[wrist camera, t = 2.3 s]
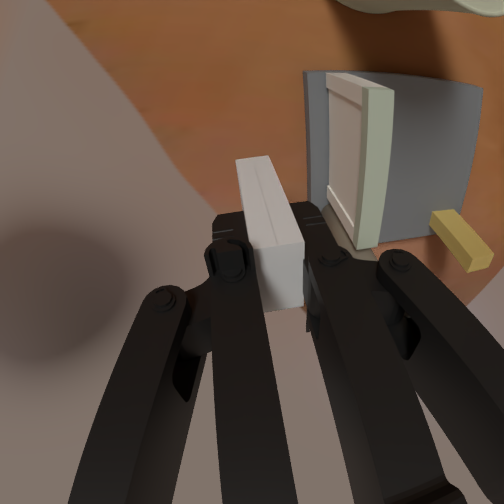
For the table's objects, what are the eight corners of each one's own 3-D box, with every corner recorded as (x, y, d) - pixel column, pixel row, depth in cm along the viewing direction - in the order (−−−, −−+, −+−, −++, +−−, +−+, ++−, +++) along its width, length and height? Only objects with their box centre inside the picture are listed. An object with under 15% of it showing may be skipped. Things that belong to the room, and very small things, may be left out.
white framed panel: (343, 195, 24) (377, 246, 19) (326, 197, 24) (356, 249, 19) (346, 72, 18) (394, 90, 13) (325, 72, 18) (368, 89, 13)
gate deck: (475, 85, 19) (564, 129, 11) (449, 225, 29) (504, 294, 21) (302, 70, 19) (369, 100, 11) (307, 245, 29) (341, 340, 21)
